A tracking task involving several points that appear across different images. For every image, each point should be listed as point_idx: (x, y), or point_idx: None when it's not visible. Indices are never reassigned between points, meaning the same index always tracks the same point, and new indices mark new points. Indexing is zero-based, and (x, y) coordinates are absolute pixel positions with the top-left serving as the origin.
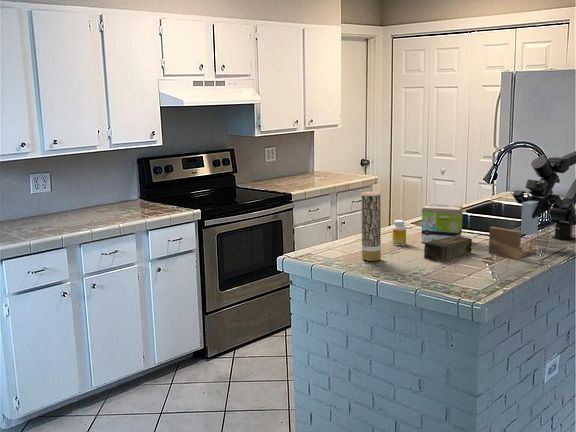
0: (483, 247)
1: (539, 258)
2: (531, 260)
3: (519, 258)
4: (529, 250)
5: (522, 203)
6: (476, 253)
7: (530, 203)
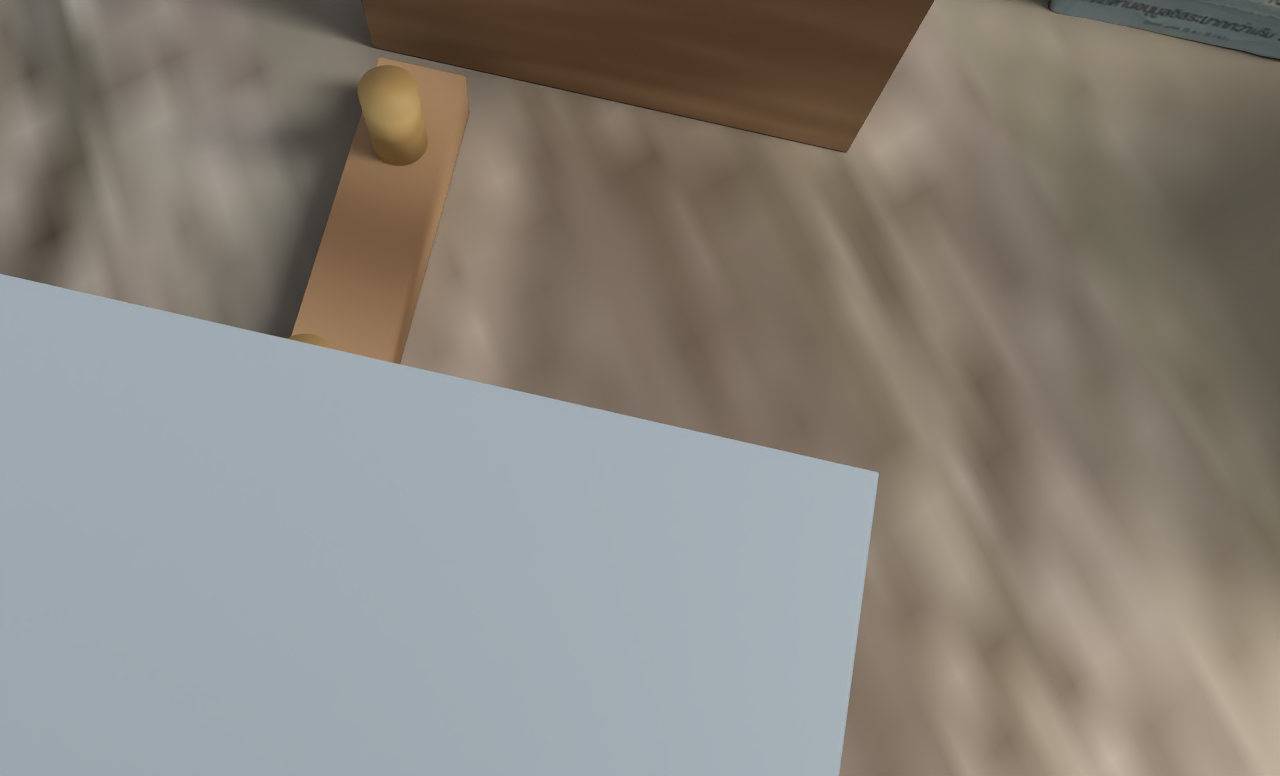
0: (1095, 375)
1: (117, 195)
2: (197, 40)
3: (374, 33)
4: (313, 313)
5: (811, 468)
6: (979, 19)
7: (57, 426)
